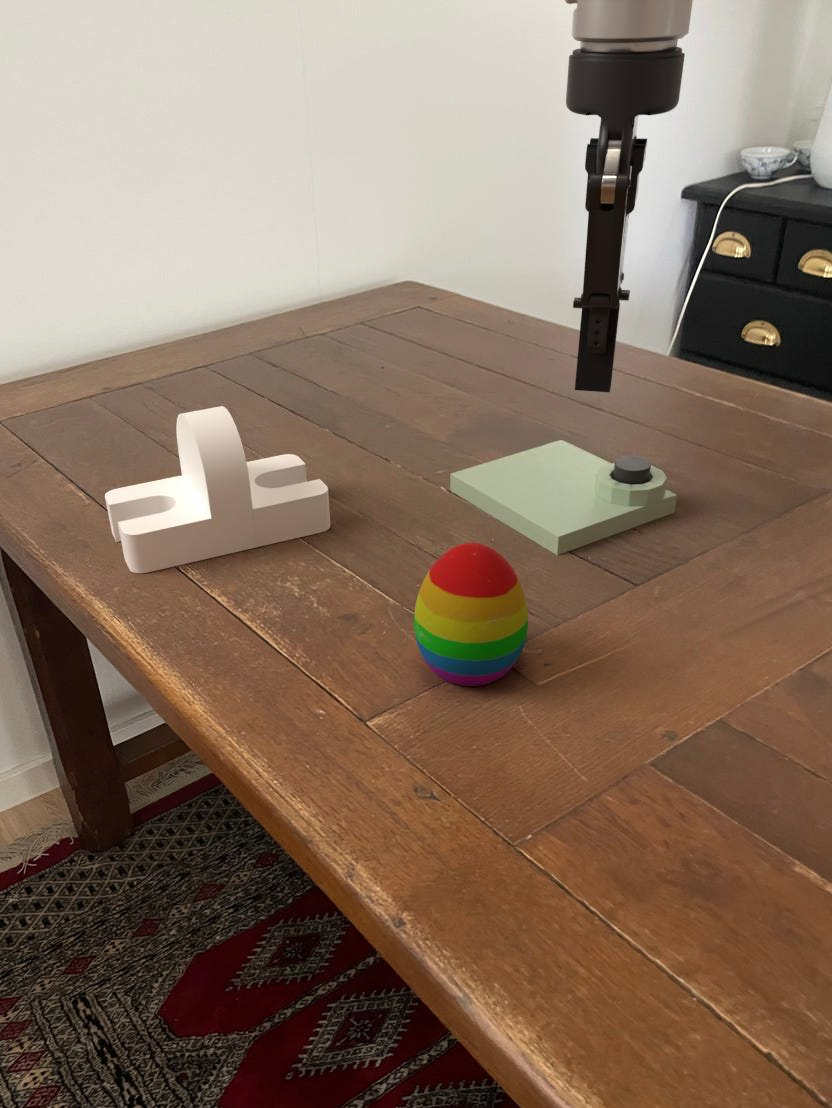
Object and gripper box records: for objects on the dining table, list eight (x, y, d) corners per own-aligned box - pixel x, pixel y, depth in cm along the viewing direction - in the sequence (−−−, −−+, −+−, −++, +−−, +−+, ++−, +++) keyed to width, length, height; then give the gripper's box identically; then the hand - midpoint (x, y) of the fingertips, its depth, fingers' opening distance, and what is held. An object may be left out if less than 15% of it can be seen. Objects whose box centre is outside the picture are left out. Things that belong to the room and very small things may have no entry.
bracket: (297, 487, 103) (288, 377, 96) (334, 529, 95) (327, 411, 89) (109, 528, 97) (86, 413, 91) (132, 575, 89) (109, 454, 83)
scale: (675, 513, 95) (680, 478, 93) (557, 556, 89) (560, 520, 87) (560, 456, 106) (563, 424, 104) (449, 491, 101) (450, 458, 99)
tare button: (656, 480, 93) (658, 464, 92) (630, 489, 92) (632, 473, 91) (631, 468, 96) (633, 453, 95) (605, 477, 94) (607, 461, 93)
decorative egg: (414, 698, 73) (413, 577, 67) (414, 635, 80) (413, 520, 74) (530, 698, 72) (538, 575, 67) (520, 634, 79) (526, 518, 73)
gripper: (579, 38, 74) (554, 358, 87) (559, 54, 64) (534, 414, 77) (687, 36, 72) (645, 363, 85) (684, 52, 62) (637, 422, 75)
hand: (592, 387), depth 81 cm, fingers closed
